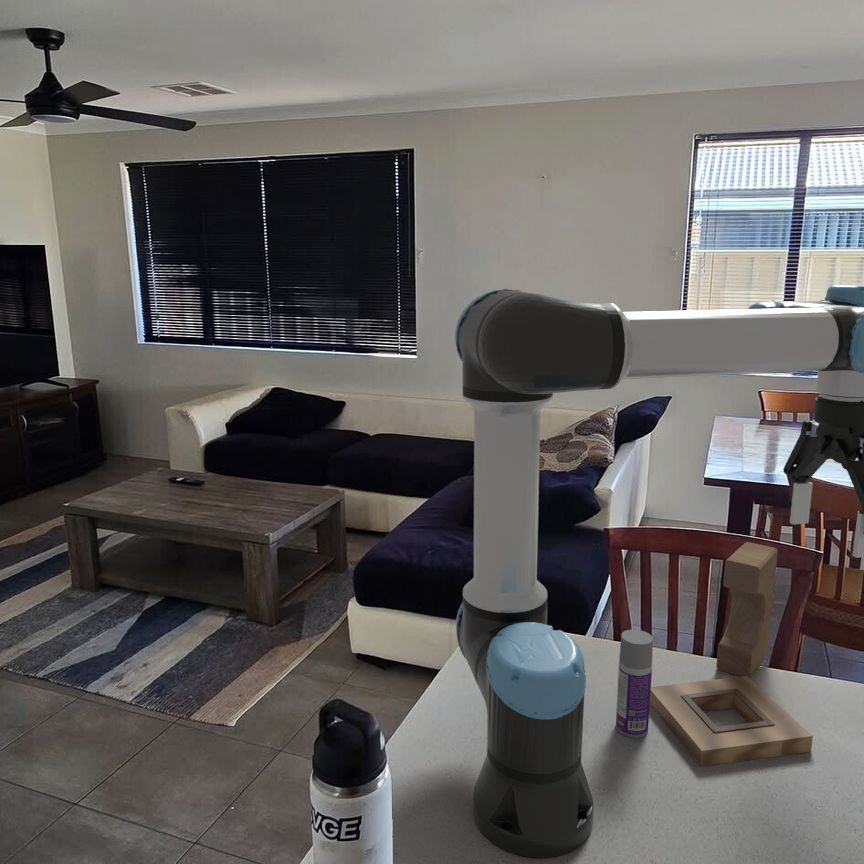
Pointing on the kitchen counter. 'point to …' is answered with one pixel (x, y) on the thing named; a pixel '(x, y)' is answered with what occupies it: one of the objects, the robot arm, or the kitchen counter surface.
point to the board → (733, 743)
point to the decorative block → (748, 608)
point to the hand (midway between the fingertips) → (829, 538)
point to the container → (634, 683)
